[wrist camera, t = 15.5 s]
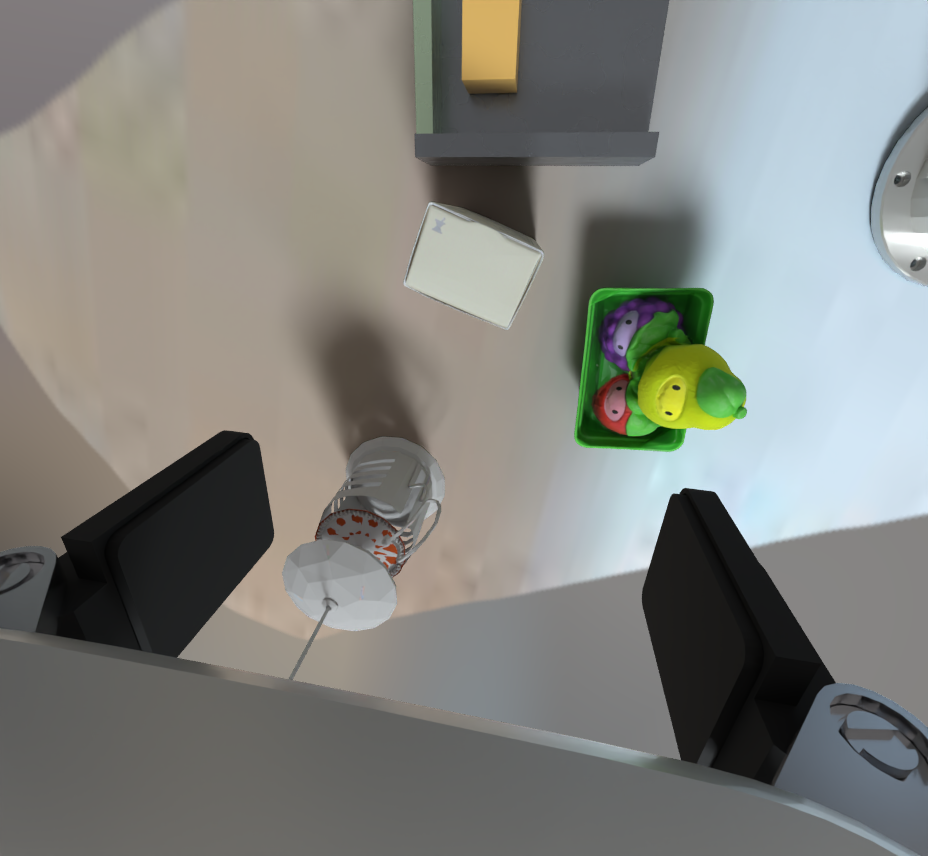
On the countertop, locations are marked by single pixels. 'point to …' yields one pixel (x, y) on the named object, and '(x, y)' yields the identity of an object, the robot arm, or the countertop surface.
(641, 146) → the box
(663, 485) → the countertop surface
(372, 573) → the french press
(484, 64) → the slider
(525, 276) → the skincare box
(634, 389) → the fruit basket
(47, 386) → the countertop surface
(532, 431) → the countertop surface
